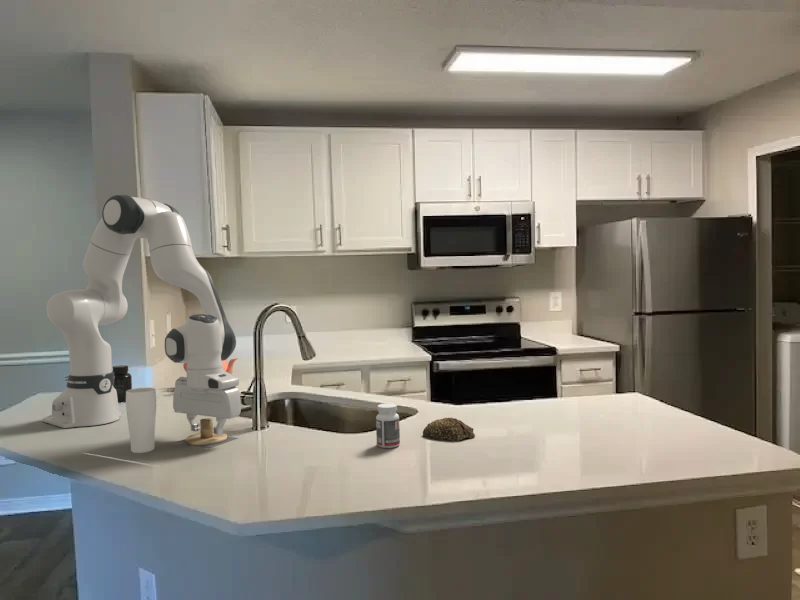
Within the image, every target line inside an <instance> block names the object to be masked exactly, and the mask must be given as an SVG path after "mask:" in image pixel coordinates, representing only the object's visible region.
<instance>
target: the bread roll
mask: <svg viewBox="0 0 800 600" xmlns="http://www.w3.org/2000/svg"><path fill="white" fill-rule="evenodd" d="M422 435H423V436H424V437H426V438H428V439H430V440H431V439H432V440H437V441H446V442H460V441H463V440H465V439H471V440H472V439H475V438H476V434H475V433H474V428H472V427H471V426H469V425H467V424H466V423H465V422H463V421H462V420H460V419H457V418H454V417H444V418H443V417H442V418H440V419H435V420H433V421H431V422H428V423H427V425H426V426H425V427H424V429H423V431H422Z"/></svg>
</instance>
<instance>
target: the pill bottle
mask: <svg viewBox="0 0 800 600" xmlns="http://www.w3.org/2000/svg"><path fill="white" fill-rule="evenodd" d="M397 406H398V405H397V404H395V403H380V404H378V405H377V412H378V414H377V415H376V416H375V427H376V428H375V429H376V435H375V436H376V446H377V447H378V448H381V449H393V448H398V447H399V446H400V443H401V437H400V436H401V434H400V416H399V414H398V413H397V412H396V411H397V410H398V407H397Z"/></svg>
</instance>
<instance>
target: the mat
mask: <svg viewBox="0 0 800 600" xmlns="http://www.w3.org/2000/svg"><path fill="white" fill-rule="evenodd" d="M237 439H239V437H234V436H228V435H227V440H226V441H224V442H221V443H218V444H213V445H201V446H198V445H190V444H187V443H186V438H183V439H181V440H178V441H175V442H174V443H175V444H179V445H180V444H181V445H186V446H194V447H199V448H200V447H201V448H207V449H212V448H214V447H218V446H220V445H223V444H226V443H230V442H232V441H235V440H237Z"/></svg>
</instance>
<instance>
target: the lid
mask: <svg viewBox="0 0 800 600" xmlns="http://www.w3.org/2000/svg"><path fill="white" fill-rule="evenodd" d="M213 421H214V420H213V417H209V418H207V417H204V418H201V419H200V420H199V424H200V430H199V431H200V433H198V432H197V433H193V434H191V435H189V436H187V437H186V438H185V439H186V443H187V444H190V445H189V446H192V445H198V446H197V447H199V446H201V445H213V444H218V443H221V442H224V441H226V440H227V436H228V435H227V433H225V432H223V433H222V434H220V435H216V434H214V429H213V428H214V426H213Z"/></svg>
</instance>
